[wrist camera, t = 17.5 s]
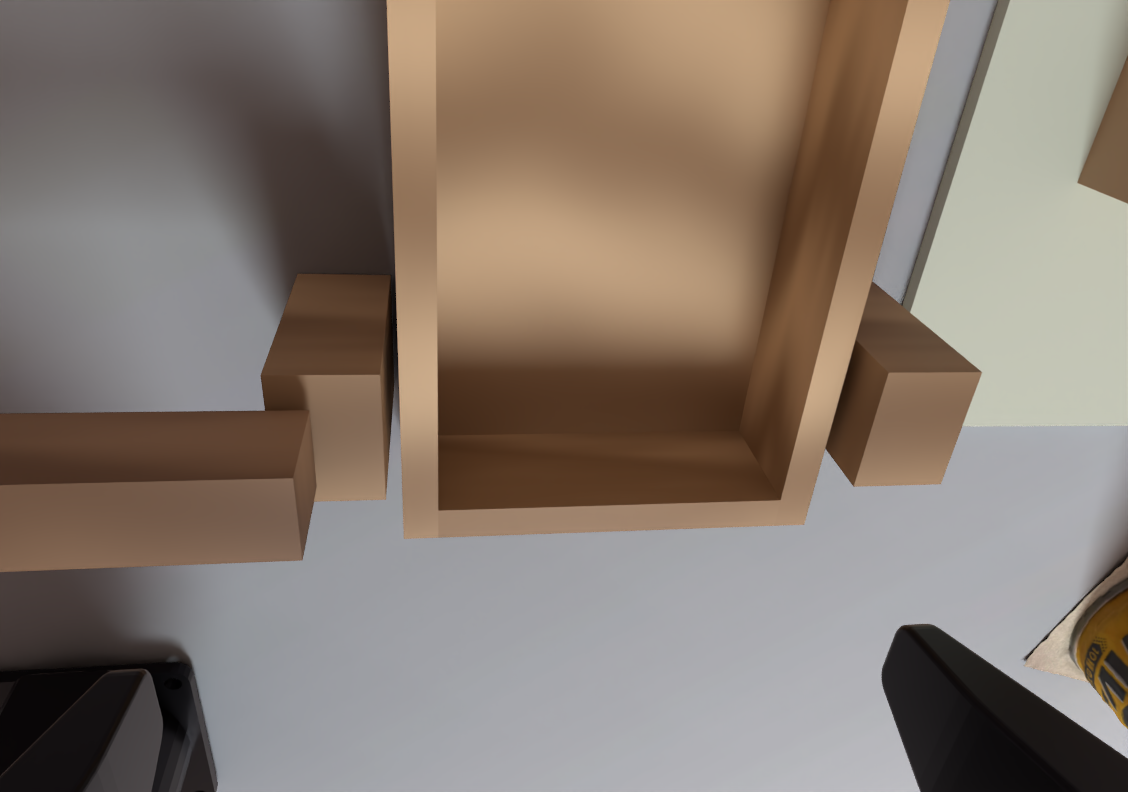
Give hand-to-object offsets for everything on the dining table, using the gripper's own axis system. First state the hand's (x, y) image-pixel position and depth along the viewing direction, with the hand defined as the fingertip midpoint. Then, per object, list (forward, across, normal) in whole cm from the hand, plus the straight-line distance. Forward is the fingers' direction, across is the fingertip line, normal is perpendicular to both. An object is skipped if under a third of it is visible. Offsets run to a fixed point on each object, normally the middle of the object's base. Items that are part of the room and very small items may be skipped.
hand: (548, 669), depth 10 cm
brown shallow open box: (+12, -3, -3) cm, 13 cm away
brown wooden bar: (+7, +10, +2) cm, 12 cm away
